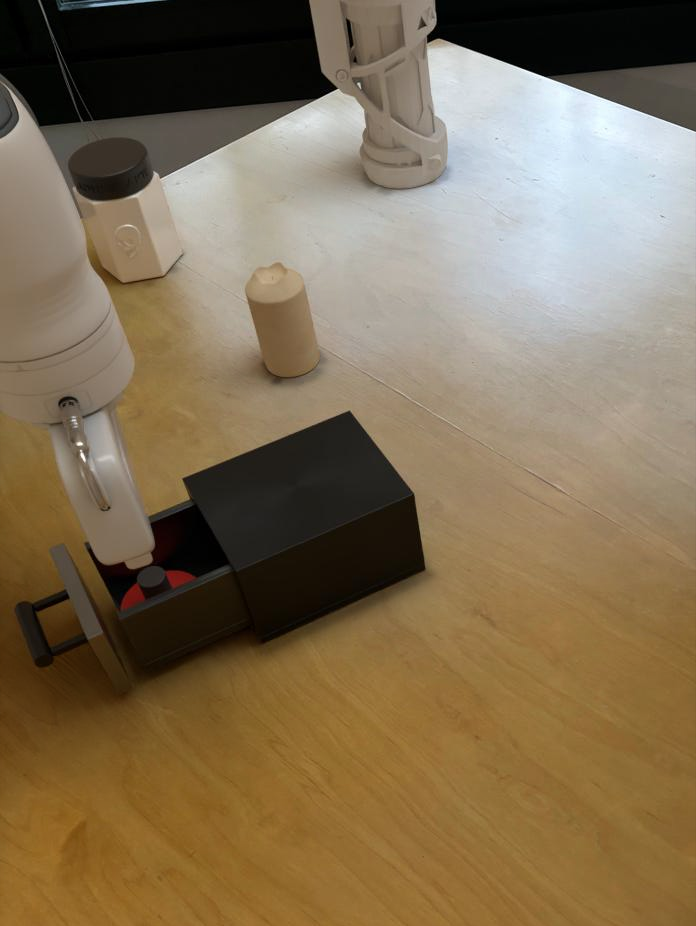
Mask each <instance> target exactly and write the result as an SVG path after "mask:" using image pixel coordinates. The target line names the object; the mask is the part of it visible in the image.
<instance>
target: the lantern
mask: <svg viewBox="0 0 696 926" xmlns="http://www.w3.org/2000/svg"><path fill="white" fill-rule="evenodd" d="M308 1H309V7H310V13H311V18H312V24H313V30H314V36H315V41H316V47H317V53H318V58H319V64H320V70H321V73H322V74H323V75H324V76H325V77H326V78H327V79H328V80H329V81H330V82H331V83H332V84H333V85H334V86H335V87H336V88H337V89H338V90H339V91H340V92H341V93H342V94H344V95H348V96H351V97H352V98H354V99H355V100H356V102H357V103H358V104H359V105H360V107H361V108H362V109H363V115H364V123H365V128H364V129H363V131H362V135H361V137H362V143H361V145H360V147H359V156H360V160H361V163H362V168H363V169H364V171H365V173H366V176H367V177H368V179H369V180H370V181H371V182H372V183H374V184H375V185H378V186H380V187H383V188H387V189H397V190H401V189H402V190H403V189H412V188H417V187H422V186H425V185H427V184H430V183H431V182H433V181H435V180H437V179H438V178H439V177H440V176H441V175H442V174H443V173H444V172H445V169H446V167H447V161H448V148H449V142H448V132H447V125H446V122H444V120H442V119H441V118H440V117H438V116H437V115H436V114H435V108H434V107H435V106H434V102H433V96H432V88H431V79H430V78H431V77H430V68H429V57H428V35H430V34H431V32H432V31H433V30H434V29H435V27H436V25H437V12H436V0H308ZM347 20H348V21H349V23H350V29H351V36H352V42H353V45H352V47H351V44H350V38H349V32H348V24H347ZM355 58H356V62H354V60H355Z"/></svg>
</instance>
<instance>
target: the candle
mask: <svg viewBox="0 0 696 926" xmlns="http://www.w3.org/2000/svg"><path fill="white" fill-rule="evenodd" d="M244 293H245V297H246V300H247V303H248V308H249V311H250V315H251V319H252V322H253V326H254V330H255V333H256V336H257V337H256V338H257V341H258V344H259V348H260V352H261V355H262V358H263V362H264V365H265V368H266V369H267V370H268V372H270V374H272V375H274V376H277V377H282V378H294V377H299V376H302V375H305V374H307V373H309V372H311V371H312V370H313V369H315V368H316V367H317V365H318V364H319V362H320V358H321V357H320V355H321V353H320V349H319V342H318V339H317V334H316V329H315V325H314V321H313V315H312V311H311V307H310V303H309V298H308V294H307V289H306V285H305V281H304V277H303V276H302V275H301V274H300V273H299V272H298V271H296V270H294V269H293V268H291V267H288V266H286V265H285V264H283V263H282V262H280V261H277V262H276V261H275V262H274V263H272V264H271V265H269V266H259V267H256V268H255V269H254V271H253V273H252V275H251V276H250V278H249V279H248V280H247V282H246V284H245V287H244Z"/></svg>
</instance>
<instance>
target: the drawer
mask: <svg viewBox="0 0 696 926" xmlns="http://www.w3.org/2000/svg"><path fill="white" fill-rule="evenodd" d="M147 516H148V519H149V522H150V526H151V529H152V532H153V536H154V541H155V547H154V549H153V551H151V555H152V558H153V561H152V562H151V563H150V564H149V565H146V566H143V567H140V568H136V569H129V568H128V567H127V566H126V564H125V562H121V563H117V564H114V565H104V564H102V563H101V562H100V561H99V560H98V559H97V558H96V556H95V554H94V552H93V550H92V548H91V546H90V544H89V542H88V541H85V542H84V543H83V544H84V547H85V549H86V551H87V553H88V555H89V556H90V560H92V563H93V564H94V566H95V568H96V571H97V572H98V575H99V576H100V578H101V580H102V582H103V584H104V586H105V588H106V589H107V591H108V593H109V595H110V598H111V600H112V602H113V604H114V606H115V608H116V610H117V612H116V616H117V619H118V620H119V622H120V625H121V627H122V628H123V630H124V632H125V634H126V636H127V638H128V640H129V641H130V643H131V645H132V648H133V649H134V652H135V653H136V655H137V657H138V659H139V661H140V663H141V665H142V667H143V668H144V671H145V672H149V671H151V670H153V669H156V668H158V667H160V666H163V665H164V664H167V663H169V662H171V661H174V660H176V659H177V658H180V657H182V656H184V655H187V654H189V653H191V652H194V651H195V650H198V649H199V648H203V647H204V646H206V645H209V644H211V643H213V642H216V641H218V640H220V639H222V638H224V637H226V636H229V635H231V634H233V633H235V632H238V631H239V630H242V629H244V628H247V627H249V626H252V625H251V624H253V622H252V619H251V616H250V613H249V611H248V608H247V605H246V602H245V600H244V597H243V594H242V592H241V589H240V586H239V583H238V581H237V578H236V575H235V572H234V571H233V569H232V567H231V565H230V564H229V562H228V560H227V558H226V557H225V555H224V553H223V551H222V550H221V548H220V546H219V544H218V543H217V541H216V539H215V538H214V536H213V534H212V532H211V531H210V529H209V527H208V525H207V524H206V522H205V520H204V518H203V517H202V515H201V513H200V511H199V510H198V508H197V506H196V504H195V503H194V501H193V499H190V498H189V499H187V500H185V501H182V502H180V503H178V504H177V503H176V504H175V505H172V506H170V507H168V508H166V509H163V510H161V511H158V512H156V513H153V514H151V515H147ZM48 551H49V553H50V555H51V558H52V560H53V563H54V565H55V567H56V569H57V572H58V574H59V577H60V579H61V582H62V583H63V587H64V588H65V589H62V590H59V591H58V592H55V593H53V594H50V595H48V596H46V597H43V598H42V599H39V600H36V601H34V602H31V601H29V600H22V601H20V602H18V603H17V604H15V605H14V608H13V611H14V614H15V617H16V620H17V621H18V624H19V627H20V629H21V633H22V635H23V637H24V640H25V642H26V646H27V648H28V650H29V653H30V656H31V659H32V661H33V664H34V665H35V667H37V668H40V669H44V668H48V667H50V666H51V665H52V664H53V663H54V662H55V658H56V657H59V656H61V655H63V654H65V653H68V652H71V651H73V650H75V649H77V648H79V647H82V646H84V645H86V644H89V645H90V646H91V648H92V650H93V652H94V654H95V656H96V657H97V659H98V661H99V662H100V664H101V666H102V668H103V670H104V671H105V673H106V674H107V677H108V678H109V680H110V682H111V683H112V685H113V687H114V689H115V690H116V692H117V694H118V695H122V694H123V693H125V692H127V691H130V690H132V689H134V684H133V682H132V680H131V678H130V675H129V673H128V671H127V669H126V667H125V665H124V662H123V660H122V658H121V656H120V653H119V652H118V649H117V647H116V644H115V642H114V640H113V638H112V635H111V633H110V631H109V629H108V627H107V624H106V622H105V620H104V617H103V616H102V613H101V611H100V609H99V606H98V604H97V601H96V600H95V598H94V596H93V594H92V592H91V589H89V587H88V585H87V583H86V581H85V579H84V577H83V575H82V574H81V572H80V570H79V568H78V566H77V564H76V562H75V560H74V559H73V557H72V555H71V553H70V551H69V549H68V548H67V545H66V544H65V543H64V542H61V543H59V544H56V545H54V546H51V547H49V548H48ZM150 566H158V567H161V568H163V569H164V571H171V570H174V571H183V572H186V573H189V574H191V575H193V576H194V577H196V579H193V580H191V581H189V582H186V583H184V584H182V585H179V586H177V587H175V588H172V589H170V590H168V591H166V592H163V593H161V594H159V595H156V596H154V597H152V598H149V599H147V600H145V601H142V602H140V603H138V604H136V605H133V606H131V607H129V608H126V609H124V610H122V611H121V604H122V601H123V598H124V596H125V595H126V593H127V592H128V591H129V589H130V588H131V587H132V586H133V585H134V584H136V583H137V576H138V574H139V573H140V572H141V571H142V570H143V569H145V568H147V567H150ZM68 600H70V602H71V604H72V607H73V609H74V612H75V614H76V617H77V618H78V621H79V623H80V626H81V628H82V630H83V632H82V633H80V634H77V635H75V636H72V637H70V638H68V639H66V640H64V641H61V642H59V643H56V644H54V645H52V646H50V643H49V641H48V638H47V636H46V634H45V631H44V628H43V625H42V623H41V621H40V618H39V616H38V613H40V612H42V611H44V610H47V609H49V608H51V607H54V606H56V605H58V604H61V603H64V602H66V601H68Z"/></svg>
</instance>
